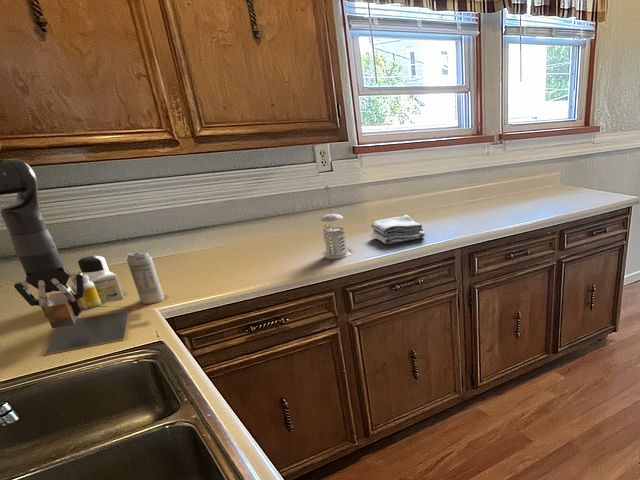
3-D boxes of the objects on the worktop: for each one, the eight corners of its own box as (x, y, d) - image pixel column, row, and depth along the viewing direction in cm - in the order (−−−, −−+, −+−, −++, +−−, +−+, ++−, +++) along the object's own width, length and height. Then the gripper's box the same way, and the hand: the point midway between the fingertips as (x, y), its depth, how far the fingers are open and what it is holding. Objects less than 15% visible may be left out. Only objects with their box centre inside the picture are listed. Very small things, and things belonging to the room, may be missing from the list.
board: (45, 358, 121) (43, 355, 121) (61, 324, 140) (59, 321, 140) (124, 343, 128) (123, 339, 127) (129, 312, 147) (128, 309, 146)
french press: (354, 251, 198) (345, 183, 187) (342, 260, 188) (331, 189, 177) (330, 251, 200) (320, 183, 188) (317, 259, 190) (305, 189, 178)
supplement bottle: (76, 312, 148) (63, 280, 143) (86, 305, 153) (74, 274, 148) (97, 310, 149) (84, 278, 144) (106, 303, 153) (94, 272, 149)
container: (95, 305, 152) (78, 262, 146) (87, 300, 157) (70, 258, 151) (124, 298, 157) (109, 256, 151) (115, 293, 162) (101, 252, 156)
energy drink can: (168, 298, 156) (152, 249, 149) (160, 305, 151) (144, 255, 144) (147, 300, 155) (130, 251, 149) (138, 307, 150) (120, 256, 143)
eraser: (52, 328, 125) (42, 307, 122) (59, 314, 134) (50, 294, 131) (74, 324, 127) (65, 303, 124) (79, 310, 135) (71, 290, 133)
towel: (371, 238, 216) (368, 219, 213) (410, 232, 225) (409, 213, 221) (385, 246, 205) (383, 226, 201) (426, 238, 213) (425, 219, 210)
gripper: (75, 242, 128) (100, 306, 136) (2, 251, 122) (33, 318, 130) (71, 248, 122) (97, 315, 130) (-6, 258, 116) (27, 328, 124)
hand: (65, 316), depth 130 cm, fingers closed on eraser, 4 cm apart
